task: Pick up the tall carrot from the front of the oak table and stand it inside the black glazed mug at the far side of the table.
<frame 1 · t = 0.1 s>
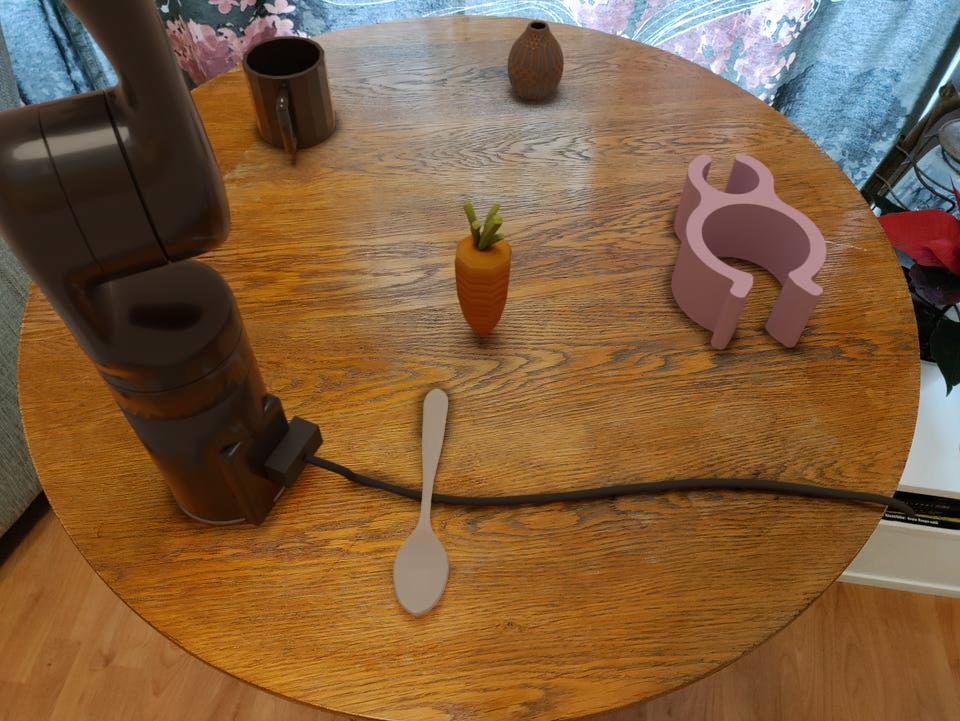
clip: (728, 273, 77), on the table
mug: (297, 126, 92), on the table
vase: (533, 93, 97), on the table
spoon: (428, 495, 61), on the table
carrot: (482, 336, 71), on the table
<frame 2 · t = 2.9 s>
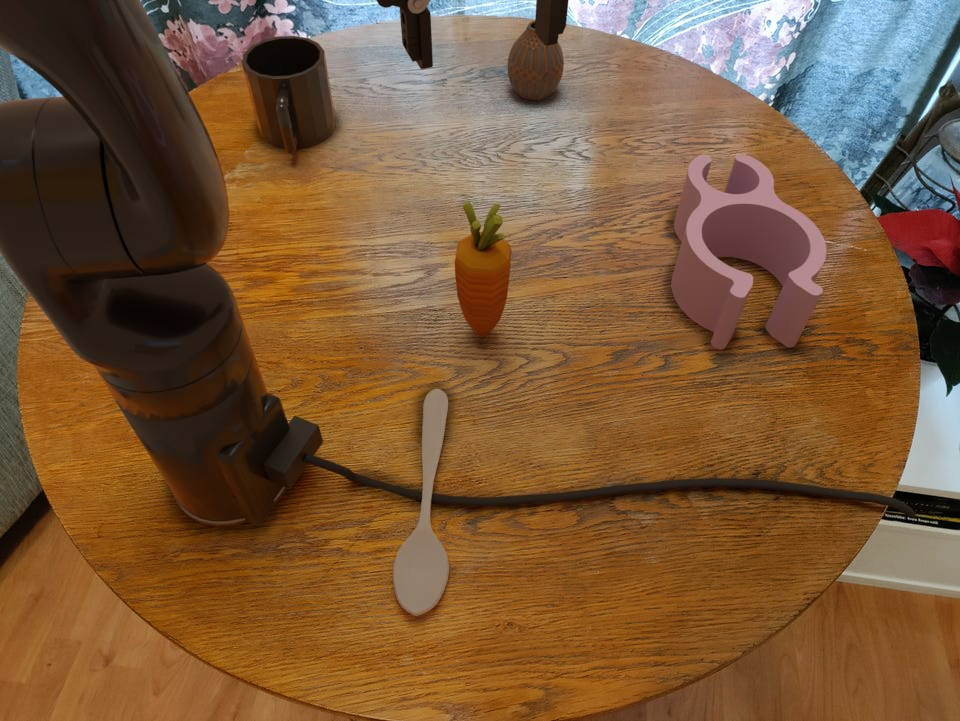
hand: (485, 50, 49), 28 cm above the table, tool pointing down, fingers open, 8 cm apart
nothing on the table moved.
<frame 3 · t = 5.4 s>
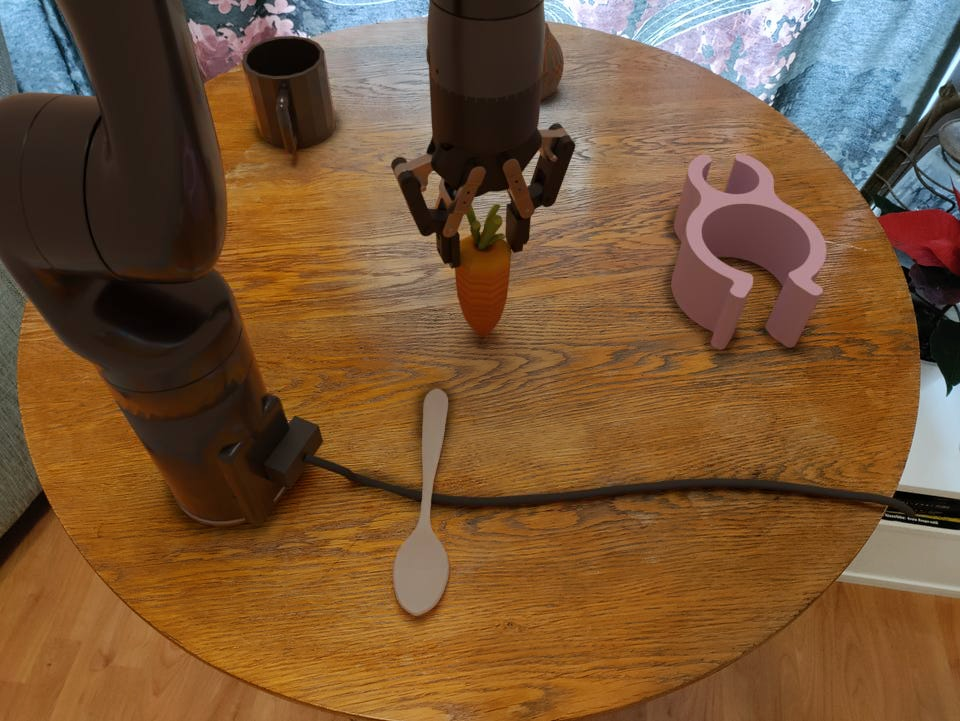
hand: (483, 252, 63), 10 cm above the table, tool pointing down, fingers closed on carrot, 5 cm apart
carrot: (482, 336, 71), on the table, touching gripper
everything else where it was.
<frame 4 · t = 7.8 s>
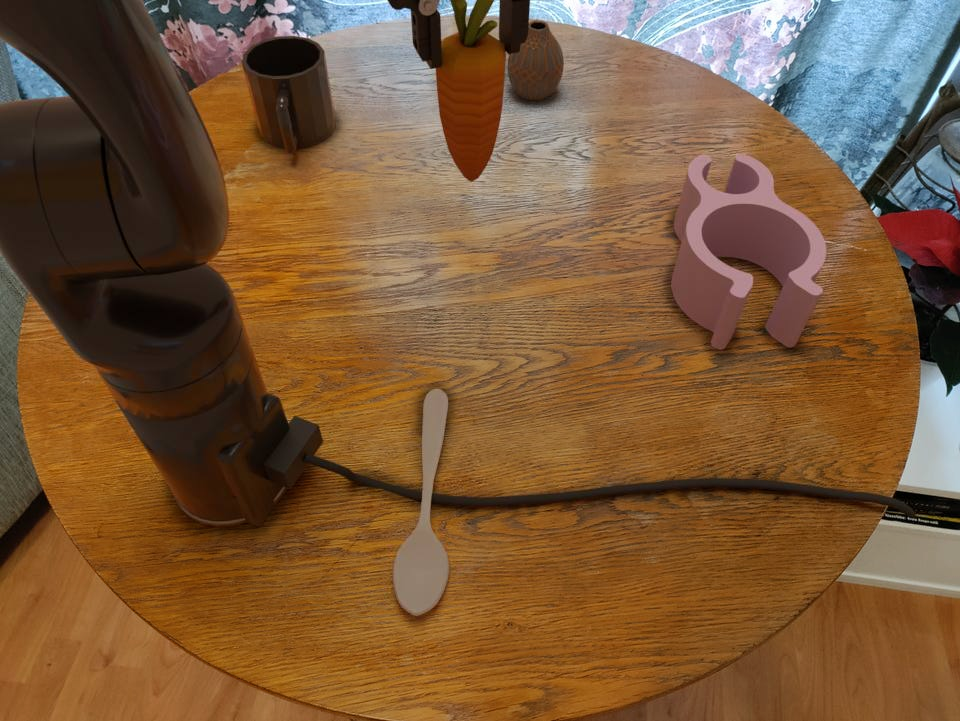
hand: (471, 54, 51), 27 cm above the table, tool pointing down, fingers closed on carrot, 5 cm apart
carrot: (471, 182, 59), point 16 cm above the table, touching gripper
everything else where it was.
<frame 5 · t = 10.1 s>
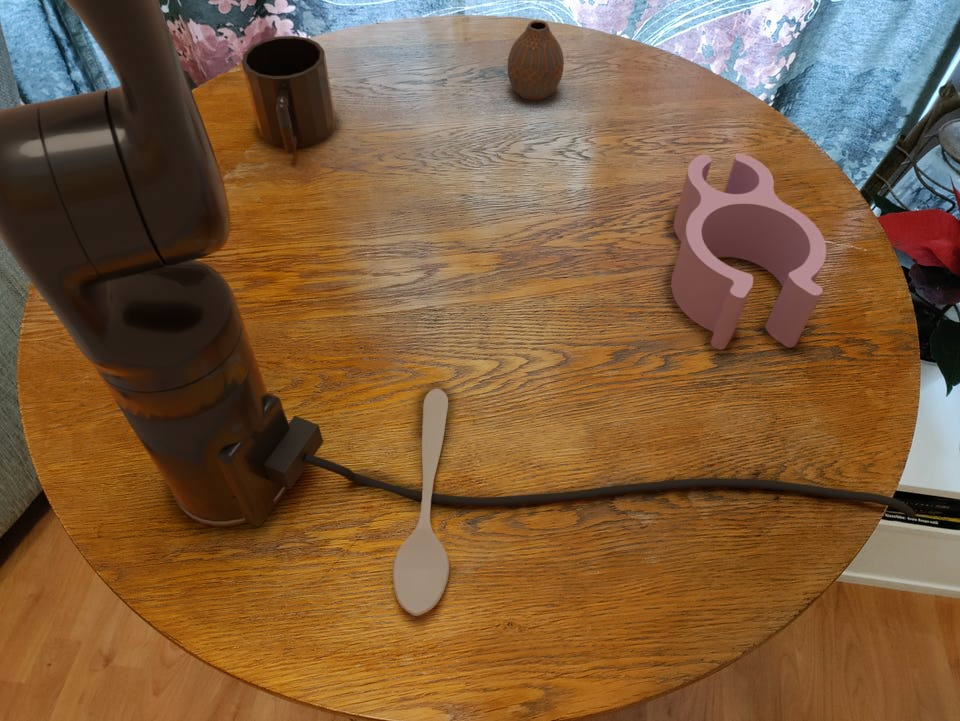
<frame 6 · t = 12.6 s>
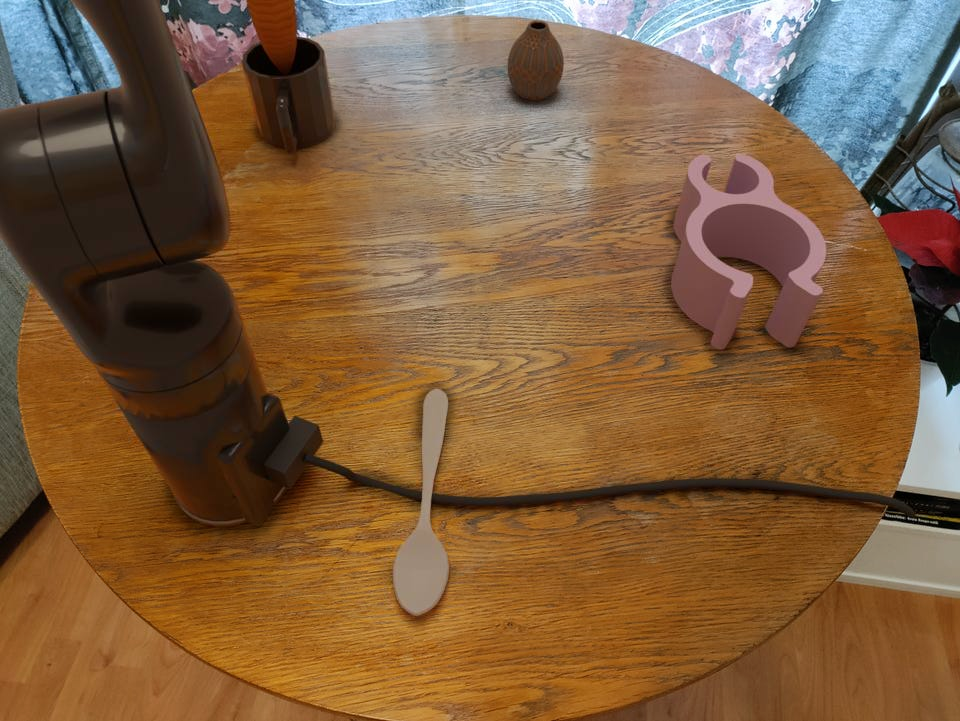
carrot: (286, 75, 87), point 7 cm above the table, touching gripper
everything else where it was.
when the fingers open (11 cm above the table, at t = 14.6 s): carrot stays where it is, resting on mug.
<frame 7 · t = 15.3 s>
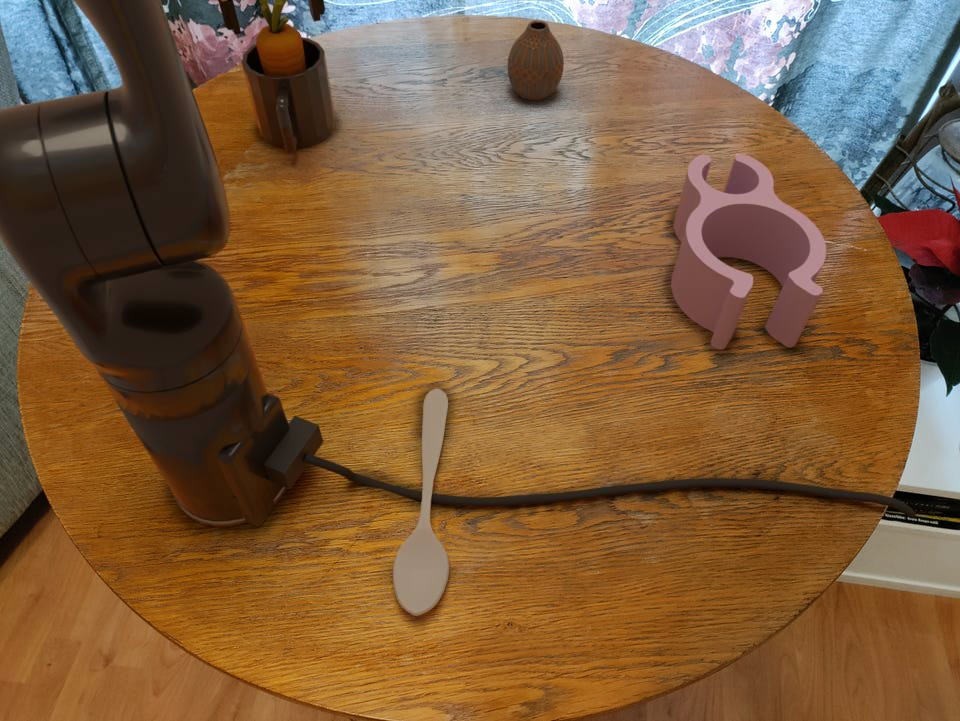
hand: (276, 24, 82), 13 cm above the table, tool pointing down, fingers open, 8 cm apart
carrot: (296, 122, 91), point 1 cm above the table, touching mug
everything else where it was.
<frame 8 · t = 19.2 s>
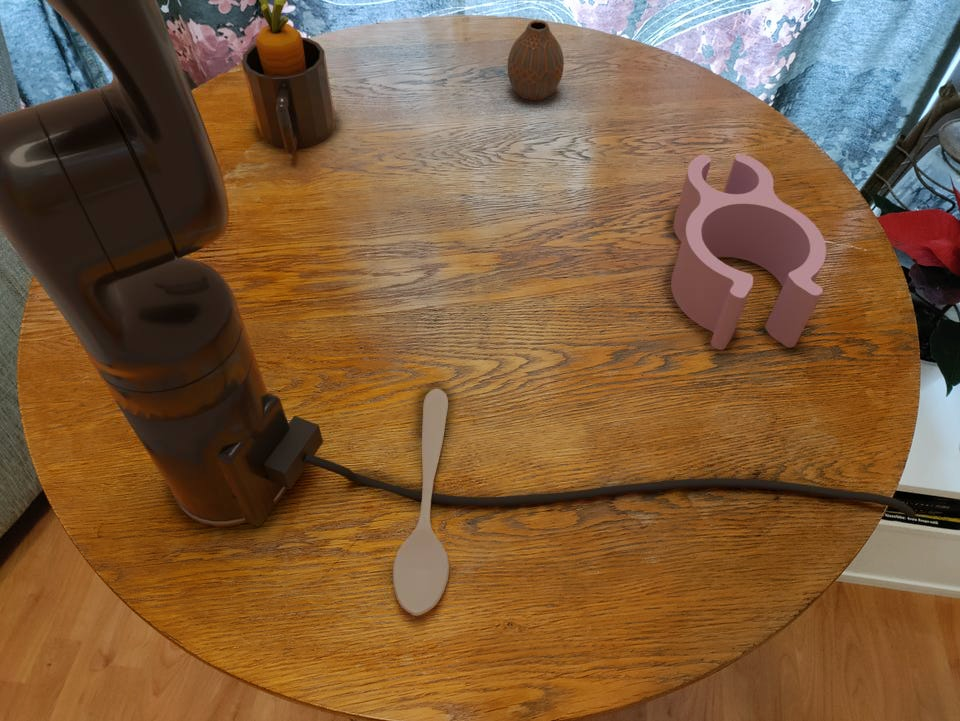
nothing on the table moved.
at the end: carrot 0.1 cm off-centre in the mug, point 0.6 cm above the mug's base; carrot tilted 0°; the gripper is holding nothing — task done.
